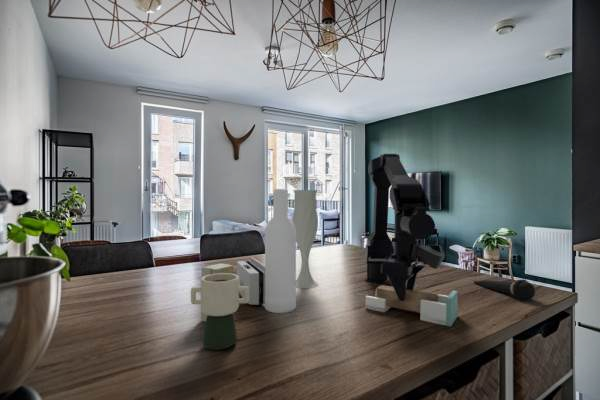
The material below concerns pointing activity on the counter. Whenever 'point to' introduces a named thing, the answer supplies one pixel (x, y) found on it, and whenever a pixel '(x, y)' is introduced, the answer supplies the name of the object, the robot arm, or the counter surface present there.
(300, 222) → the vase
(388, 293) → the rail
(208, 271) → the skincare box
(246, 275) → the bracket
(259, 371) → the counter surface
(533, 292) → the microphone
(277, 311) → the bottle
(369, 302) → the rail brackets
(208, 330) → the character mug
